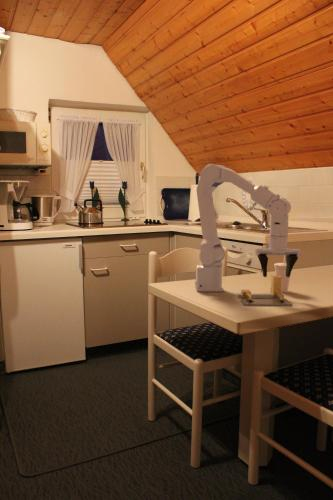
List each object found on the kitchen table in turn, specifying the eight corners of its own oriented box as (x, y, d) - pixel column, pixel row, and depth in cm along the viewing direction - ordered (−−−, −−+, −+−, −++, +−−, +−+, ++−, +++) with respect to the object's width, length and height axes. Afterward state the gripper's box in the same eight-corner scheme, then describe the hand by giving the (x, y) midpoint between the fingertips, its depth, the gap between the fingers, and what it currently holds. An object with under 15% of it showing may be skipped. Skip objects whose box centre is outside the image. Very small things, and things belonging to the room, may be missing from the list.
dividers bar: (242, 303, 133) (242, 296, 132) (237, 296, 141) (237, 289, 141) (289, 303, 133) (290, 296, 132) (281, 296, 142) (281, 289, 141)
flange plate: (244, 305, 130) (244, 303, 130) (240, 300, 136) (240, 298, 136) (291, 305, 131) (292, 303, 130) (286, 301, 136) (286, 299, 136)
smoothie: (278, 293, 146) (280, 253, 143) (269, 289, 152) (271, 251, 150) (295, 292, 147) (297, 253, 145) (285, 288, 153) (286, 250, 151)
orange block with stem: (277, 301, 133) (278, 281, 132) (270, 294, 142) (271, 275, 141) (286, 301, 133) (287, 281, 132) (277, 294, 142) (278, 275, 141)
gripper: (259, 237, 133) (257, 278, 135) (304, 237, 133) (302, 279, 135) (254, 234, 140) (252, 274, 142) (297, 235, 140) (294, 274, 142)
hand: (276, 276), depth 139 cm, fingers open, 7 cm apart
